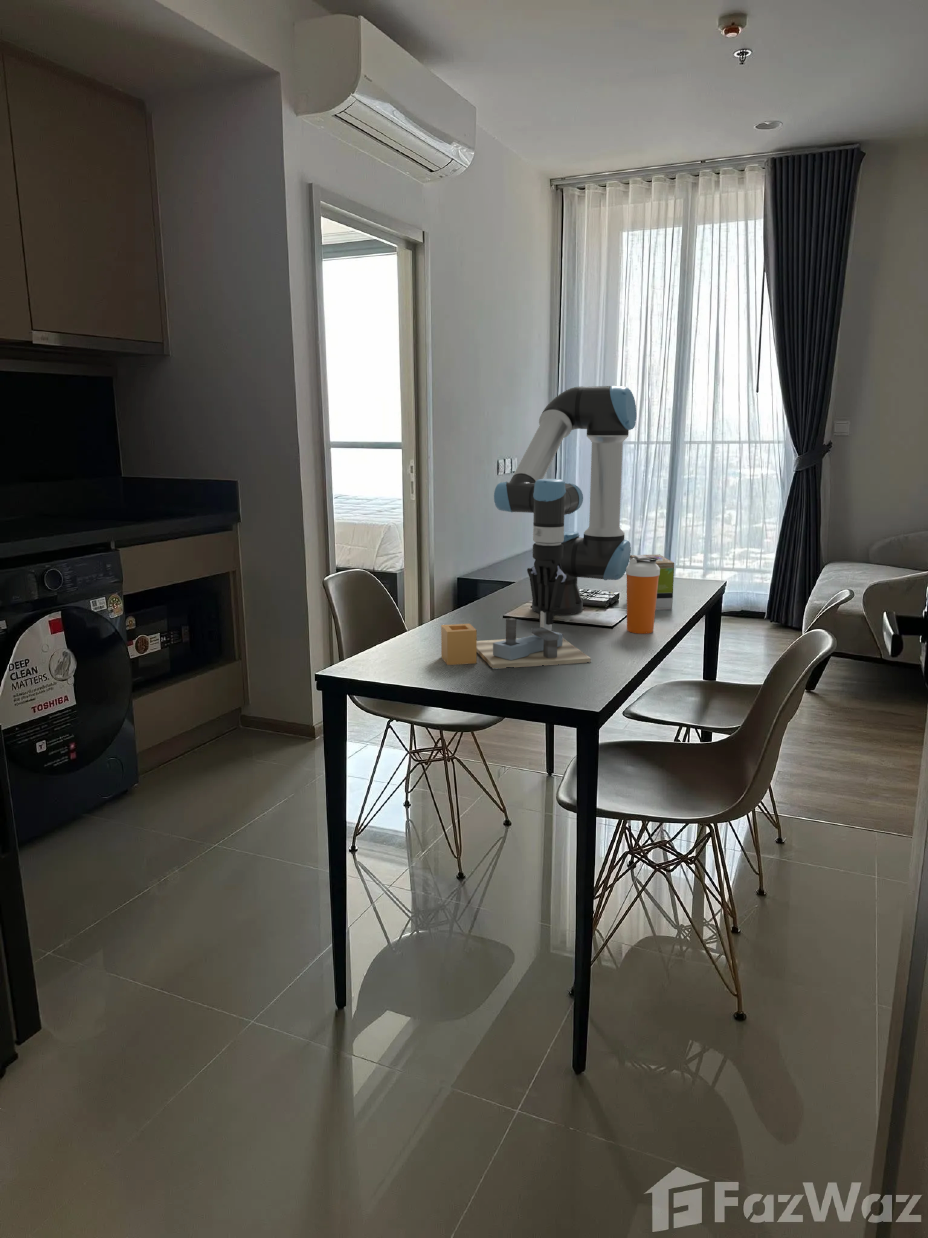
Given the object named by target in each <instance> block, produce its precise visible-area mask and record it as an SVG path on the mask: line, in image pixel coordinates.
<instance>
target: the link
mask: <svg viewBox="0 0 928 1238" xmlns="http://www.w3.org/2000/svg"><path fill="white" fill-rule="evenodd" d="M552 632H554V633H556V634H558V635H559V640H557V647H559V646H562V641H563V638H564V637H563V635H564V634H563V633H561V632H558V631H557V632H556V631H552ZM543 648H544V639H542V638H540V637H538V636H536V635H534V634H532V635H528V636H523V637H520V638H519V639H517V638H516V645H512V646H510V645H506V640H504V641H500V642H495V643H493V655H494V656H497V657H501V658H504V659H507V660H514V659H518V658H522V657H526V656H529V654H531V653H535V652H539V651H543Z"/></svg>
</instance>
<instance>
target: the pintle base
mask: <svg viewBox="0 0 928 1238" xmlns="http://www.w3.org/2000/svg"><path fill="white" fill-rule="evenodd" d="M530 630H531V631H530V632H531V634H532V635H536V636H538V637H540V638H542V639H544V648H543V651H539V652H535V653H531V654H529V656H526V657H522V658H518V659H514V660H507V659H504V658H501V657H497V656H494V655H493V643H495V642H500V641H504V640H506V645H510V646H512V645H516V639H519V638H518V637H517V619H516V618H512V617H511V618H506V620H505V638H504V639H503V638H502V639H489V640H487V639H486V640H477V655H479V656H480V658H482V659H483V660H484V662H486V663H487V664H488V666H490V668H491V667H492V668H499V669H507V668H506V667H514V668H523V667H524V668H527V667H540V666H542V665H544V666H557V665H558V664H559V665H573V664H574V665H575V664H585V663H586V664H587V662H589V663H592V659H591V657H590V656H588V655H587V654H586V653H584V652H583V651H582V650H580V649H579V648H577V646H575V645H573V644H571V642H569V641H568V640H566V639H565V638H564V637H563V641H562V646H559V647H557V640H559V635H558V634H556V633H554V632H555V631H553V632H552V631H549V630H547V629H545V628H543V627H540V626H539V627H532V628H531V629H530ZM559 665H558V666H559ZM492 668H491V669H492Z"/></svg>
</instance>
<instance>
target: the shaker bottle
mask: <svg viewBox="0 0 928 1238" xmlns="http://www.w3.org/2000/svg"><path fill="white" fill-rule="evenodd" d="M641 560H649V561H641ZM656 560H658V559H657V558H650V557H648V558H638V557H636V556H634V557H632V558H631V559H630V560H629V564H628V566H627V567H626V572H625V575H626V631H627V632H628V633H632V634H637V635H638V634H639V635H640V634H641V635H645V634H647V635H648V634H652V633H653V632H654V629H655V628H654V627H655V618H656V610H655V609H656V599H657V589H658V579H659V575H660V568H659V566H658V565H657V564H656Z"/></svg>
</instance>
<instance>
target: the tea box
mask: <svg viewBox="0 0 928 1238" xmlns="http://www.w3.org/2000/svg"><path fill="white" fill-rule="evenodd" d="M634 556H636V557H638V558H648V557H650V558H657V559H658V560H656V564H657V565H658V566H659V568H660V575H659V579H658V589H657V599H656V609H655V611H669V610H670V611H671V610H673V604H674V603H673V602H674V601H673V600H674V578H675V577H674V576H675V562H674V561H672V560H670V559H668V558H666V557H665V556H663V555H661V554H636V555H635V554H632V555H631V554H630V559H631V558H632V557H634ZM641 561H649V560H641Z"/></svg>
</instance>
